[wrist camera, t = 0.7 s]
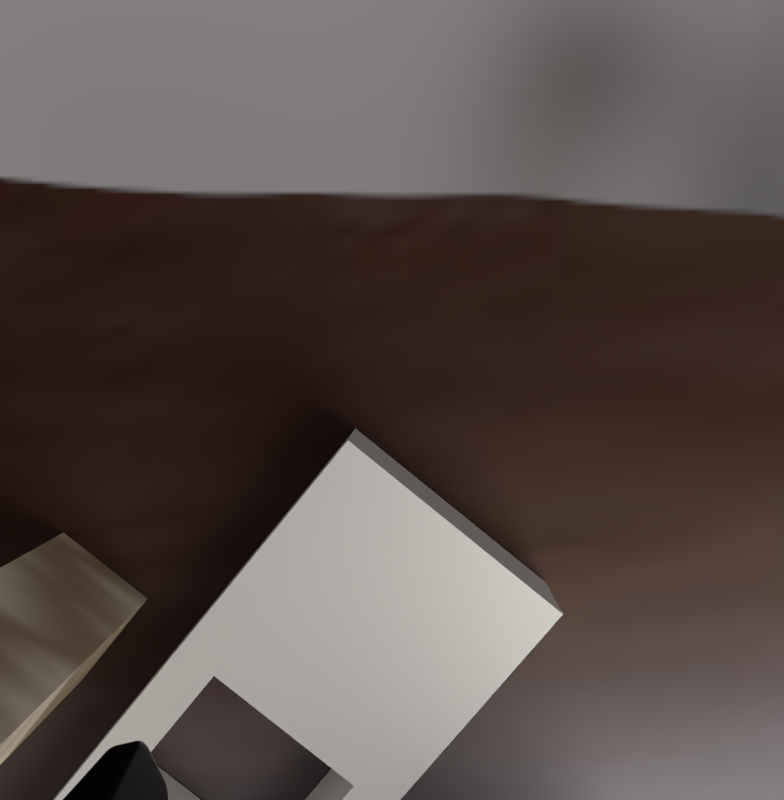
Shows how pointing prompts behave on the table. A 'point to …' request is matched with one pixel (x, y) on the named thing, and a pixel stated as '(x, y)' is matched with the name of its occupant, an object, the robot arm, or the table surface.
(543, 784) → the table surface
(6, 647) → the wooden peg
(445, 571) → the white slotted block
